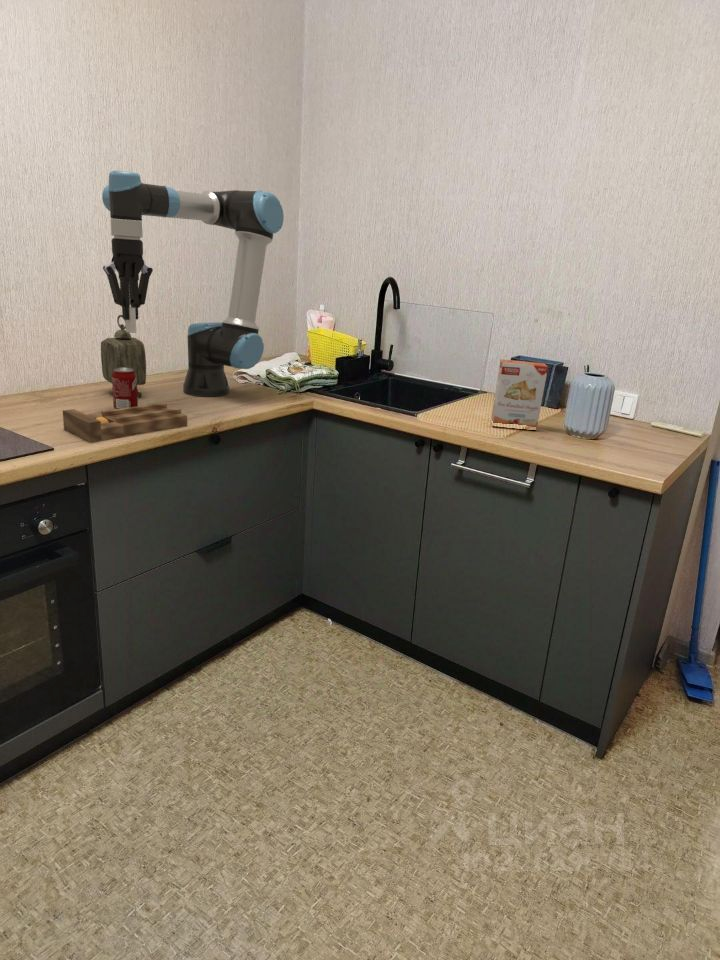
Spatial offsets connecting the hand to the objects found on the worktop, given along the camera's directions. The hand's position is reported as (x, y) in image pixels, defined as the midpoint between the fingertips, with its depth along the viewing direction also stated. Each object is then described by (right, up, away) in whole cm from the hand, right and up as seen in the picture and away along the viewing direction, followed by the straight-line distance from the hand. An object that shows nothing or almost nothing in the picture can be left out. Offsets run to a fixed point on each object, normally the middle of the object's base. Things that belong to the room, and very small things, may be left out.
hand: (131, 332), depth 174 cm
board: (-1, -25, +2) cm, 25 cm away
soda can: (-8, -19, +19) cm, 28 cm away
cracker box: (+110, -23, +34) cm, 117 cm away
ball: (-6, -25, -5) cm, 26 cm away
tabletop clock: (-15, -12, +35) cm, 40 cm away
